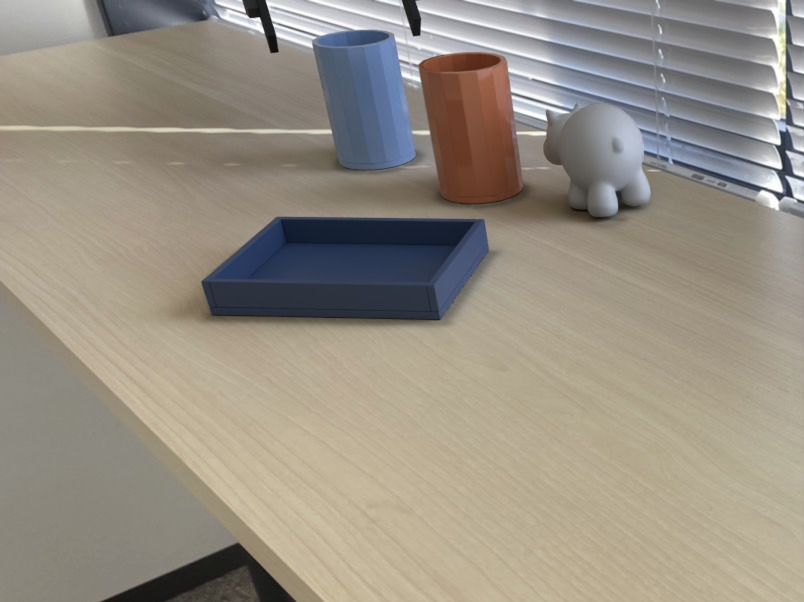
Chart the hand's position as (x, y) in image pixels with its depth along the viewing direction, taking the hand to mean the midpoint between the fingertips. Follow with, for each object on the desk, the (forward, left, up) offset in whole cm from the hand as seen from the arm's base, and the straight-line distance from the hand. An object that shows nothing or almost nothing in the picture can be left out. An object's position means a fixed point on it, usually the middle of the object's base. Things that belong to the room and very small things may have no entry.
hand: (346, 36), depth 111 cm
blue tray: (+12, -34, -10) cm, 38 cm away
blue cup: (+3, -4, -10) cm, 11 cm away
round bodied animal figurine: (+26, -16, -10) cm, 32 cm away
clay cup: (+16, -13, -10) cm, 23 cm away
